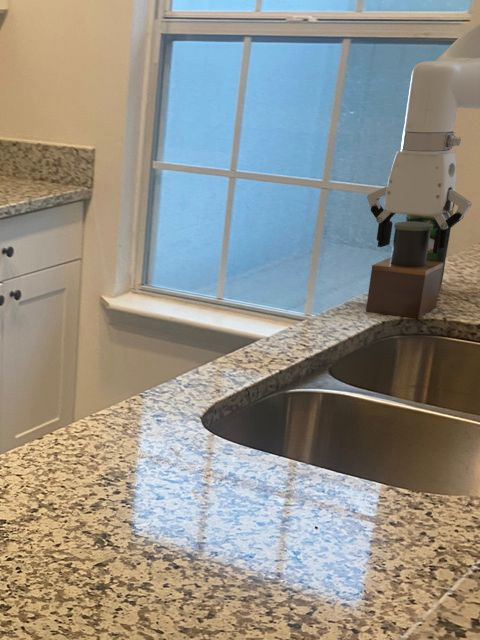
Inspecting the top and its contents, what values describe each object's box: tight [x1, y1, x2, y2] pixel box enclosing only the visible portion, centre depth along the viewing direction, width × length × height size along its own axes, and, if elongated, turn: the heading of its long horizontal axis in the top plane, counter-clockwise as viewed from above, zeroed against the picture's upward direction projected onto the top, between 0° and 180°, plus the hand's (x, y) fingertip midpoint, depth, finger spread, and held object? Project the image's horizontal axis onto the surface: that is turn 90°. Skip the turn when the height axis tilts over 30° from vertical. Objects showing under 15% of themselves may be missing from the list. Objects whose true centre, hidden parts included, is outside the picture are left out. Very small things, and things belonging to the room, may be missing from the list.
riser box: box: [365, 256, 444, 319], centre depth 178 cm, size 9×9×8 cm
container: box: [390, 221, 433, 267], centre depth 175 cm, size 6×6×7 cm
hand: (410, 249), depth 175 cm, fingers open, 9 cm apart
